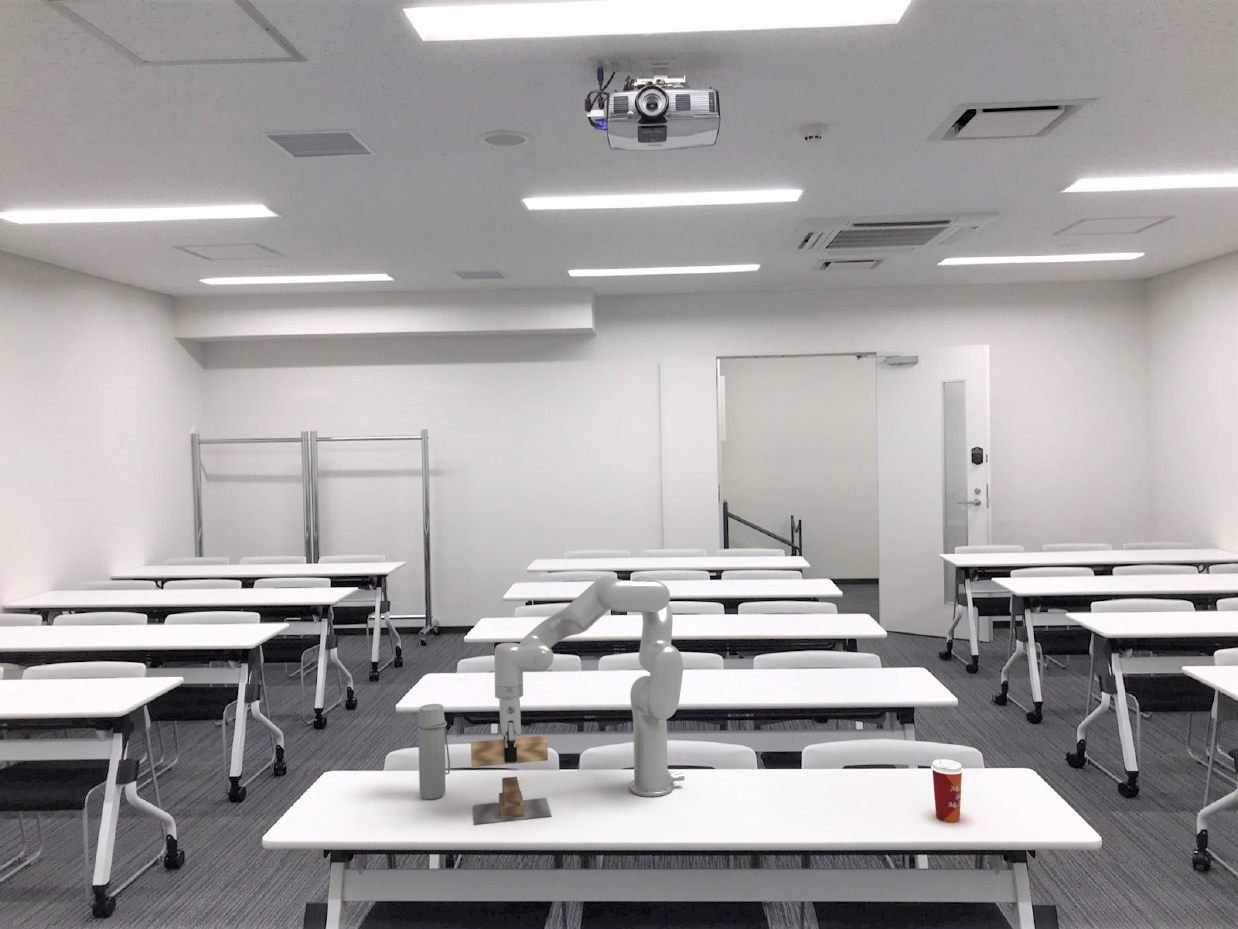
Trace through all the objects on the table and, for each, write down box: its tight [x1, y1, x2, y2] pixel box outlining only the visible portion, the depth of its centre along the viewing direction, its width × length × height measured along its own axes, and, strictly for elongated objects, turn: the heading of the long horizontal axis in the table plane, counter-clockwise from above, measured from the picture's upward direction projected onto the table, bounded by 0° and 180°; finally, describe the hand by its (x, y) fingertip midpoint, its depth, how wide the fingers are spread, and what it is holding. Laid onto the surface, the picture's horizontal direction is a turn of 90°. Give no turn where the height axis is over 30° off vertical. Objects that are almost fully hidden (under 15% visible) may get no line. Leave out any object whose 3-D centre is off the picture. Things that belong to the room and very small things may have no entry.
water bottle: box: [417, 703, 451, 800], centre depth 237 cm, size 9×8×25 cm
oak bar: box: [470, 735, 549, 768], centre depth 225 cm, size 20×5×5 cm, turn 102°
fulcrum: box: [472, 776, 552, 826], centre depth 225 cm, size 20×12×7 cm, turn 102°
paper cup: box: [930, 758, 964, 824], centre depth 216 cm, size 8×8×14 cm
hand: (509, 757), depth 225 cm, fingers closed on oak bar, 5 cm apart
